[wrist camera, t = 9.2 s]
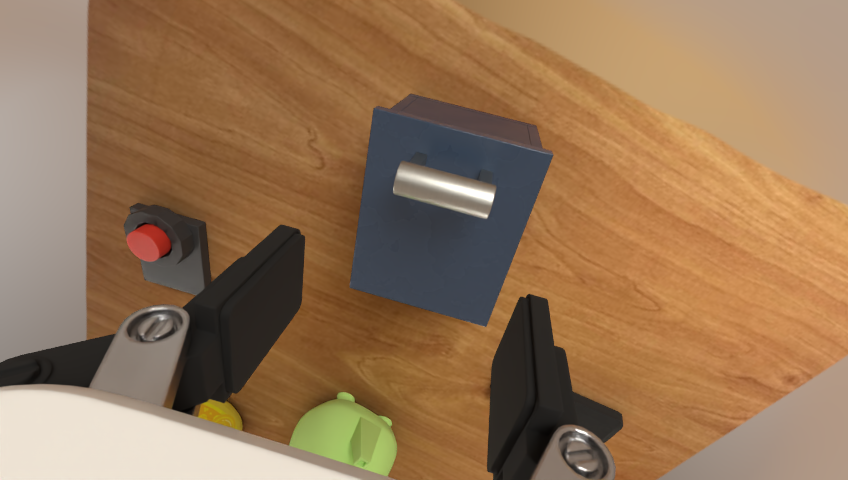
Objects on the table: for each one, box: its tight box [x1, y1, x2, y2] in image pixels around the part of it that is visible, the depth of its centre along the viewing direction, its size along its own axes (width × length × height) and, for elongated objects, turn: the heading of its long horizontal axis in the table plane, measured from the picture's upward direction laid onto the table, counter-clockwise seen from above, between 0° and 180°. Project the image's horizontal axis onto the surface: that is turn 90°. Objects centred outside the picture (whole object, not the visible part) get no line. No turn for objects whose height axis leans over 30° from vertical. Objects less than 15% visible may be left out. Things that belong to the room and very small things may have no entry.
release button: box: [127, 224, 171, 262], centre depth 41 cm, size 4×4×2 cm
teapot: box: [289, 392, 397, 476], centre depth 49 cm, size 20×13×13 cm
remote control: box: [490, 385, 623, 443], centre depth 45 cm, size 5×2×15 cm
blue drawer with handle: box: [350, 106, 553, 327], centre depth 24 cm, size 13×11×5 cm
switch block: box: [124, 203, 211, 295], centre depth 44 cm, size 11×8×3 cm
